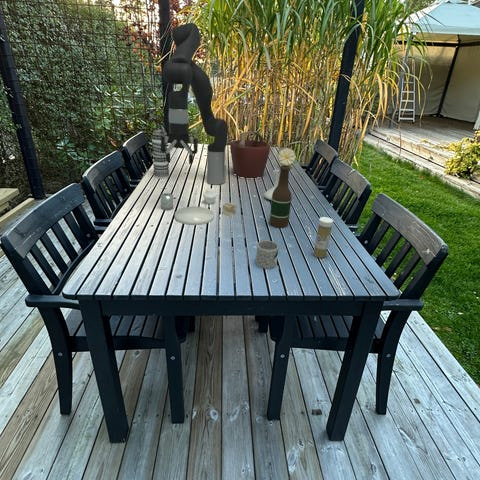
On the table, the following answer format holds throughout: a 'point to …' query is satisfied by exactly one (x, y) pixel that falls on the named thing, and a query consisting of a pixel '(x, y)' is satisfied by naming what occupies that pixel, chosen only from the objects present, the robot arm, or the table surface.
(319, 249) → the sprinkles bottle
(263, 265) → the mug
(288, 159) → the flower in vase
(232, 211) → the brass block
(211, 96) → the robot arm
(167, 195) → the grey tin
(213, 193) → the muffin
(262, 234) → the table surface
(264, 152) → the brown flower pot
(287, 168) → the beer bottle
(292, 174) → the table surface
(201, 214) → the white bowl
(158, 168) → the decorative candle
